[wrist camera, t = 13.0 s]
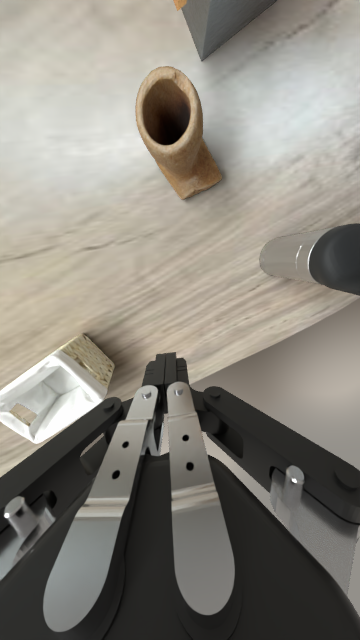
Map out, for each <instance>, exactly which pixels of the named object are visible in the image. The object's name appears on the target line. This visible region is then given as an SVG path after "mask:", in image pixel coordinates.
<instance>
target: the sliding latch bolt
mask: <svg viewBox="0 0 360 640" xmlns="http://www.w3.org/2000/svg"><path fill="white" fill-rule="evenodd" d="M173 1H174V3H175V6H176V8H177V11H178V10H179V9H180V8H182V7H183V6H184V5H185V4H186V3H187V0H173Z"/></svg>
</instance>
